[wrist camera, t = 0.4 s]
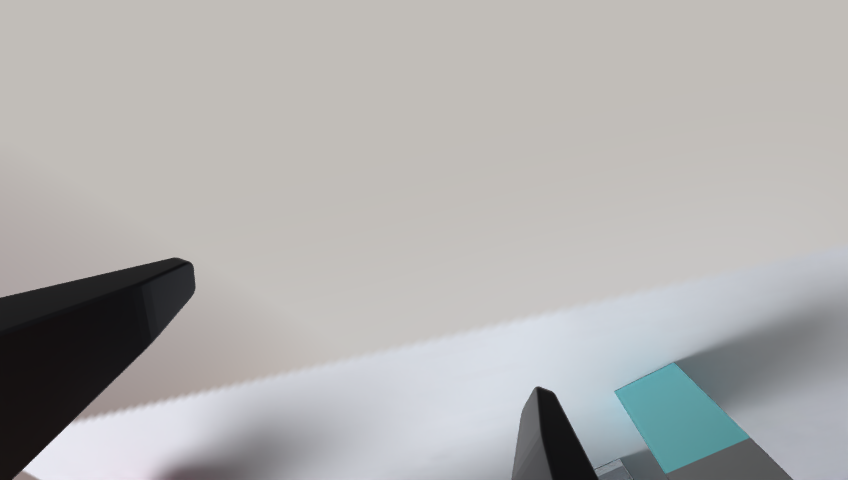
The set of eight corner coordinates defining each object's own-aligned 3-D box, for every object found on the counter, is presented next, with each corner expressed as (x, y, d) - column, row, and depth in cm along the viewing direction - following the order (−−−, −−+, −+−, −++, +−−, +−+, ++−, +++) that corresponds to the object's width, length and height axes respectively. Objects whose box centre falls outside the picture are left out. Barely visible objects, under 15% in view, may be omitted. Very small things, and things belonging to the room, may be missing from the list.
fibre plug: (646, 440, 26) (751, 608, 16) (614, 391, 25) (700, 531, 15) (706, 413, 25) (855, 573, 15) (673, 362, 24) (804, 491, 15)
